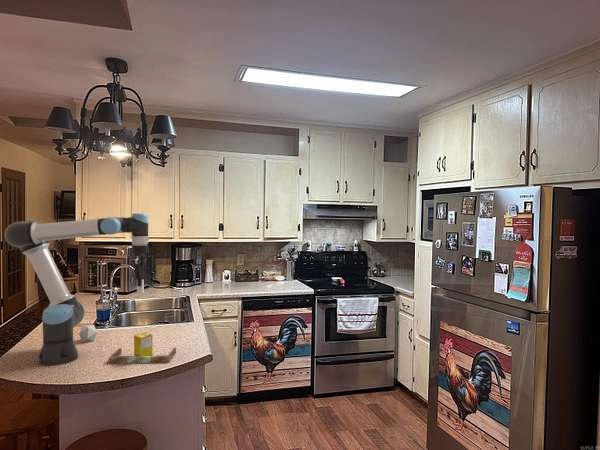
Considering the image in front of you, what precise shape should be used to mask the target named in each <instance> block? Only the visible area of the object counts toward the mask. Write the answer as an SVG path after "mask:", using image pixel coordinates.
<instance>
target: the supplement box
mask: <svg viewBox="0 0 600 450" xmlns="http://www.w3.org/2000/svg"><path fill="white" fill-rule="evenodd" d="M153 349H154V348H153V333H149V332H141V333H138V334H133V356H134V357H140V356H153V355H154V354H153V351H154V350H153Z"/></svg>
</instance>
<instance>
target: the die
mask: <svg viewBox="0 0 600 450" xmlns="http://www.w3.org/2000/svg"><path fill="white" fill-rule="evenodd" d="M97 334H98V331H97V329H96V327H95V325H94V324H90V325H89V324H88V325H82V326H81V328H80V331H79V333H78V335H79V338H80V340H81V342H82V343H88V342H94V341H95V339H96V336H97Z"/></svg>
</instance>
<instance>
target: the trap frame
mask: <svg viewBox="0 0 600 450" xmlns="http://www.w3.org/2000/svg"><path fill="white" fill-rule="evenodd" d="M176 354H177V347H173V349H172V350H171V351H170V352H169V354H168V355H155V356H140V357H134V355H122V348H120V347H119V348H118V349H117V350H115V352H113V353H112V354H110V356H109V357H107V358H108V363H107V364H146V363H147V364H154V363H156V364H157V363H160V364H161V363H167V364H168V363H170V362H171V361H172V359H173V358H174V357H175V356H176Z"/></svg>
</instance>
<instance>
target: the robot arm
mask: <svg viewBox="0 0 600 450" xmlns="http://www.w3.org/2000/svg"><path fill="white" fill-rule="evenodd" d="M125 233H129V234H131V244H132V246H131V253H133V254H135V255H134V256H135V257H134V259H133V267H134V280H136V294H143V293H144V292H145V291H144V285H145V284H144V280H145V279H146V269H147V261H148V260H147V257H146V254H147V253H149V245H148V244H149V240H150V238H149V215H148V213H132V214H131V216H129V217H128V216H127V217H123V216H121V217H120V216H119V217H118V216H110V217H109V216H108V217H104V218H103V217H102V218H92V219H82V220H81V219H78V220H70V221H59V222H48V223H41V222H39V221H35V220H25V221H15V222H12V223H11V224H9V225H8V226H7V227H6V229H5V231H4V238H5V241H6V243H8V244H9V245H10V246H12V247H15V248H19V250H20V252H21V254H22V255H25V256H27V257H28V259H29V261H30V263H31V265H32V268H33V269H34V271H35V273H36V275H37V278H38V280H39V281H40V284H41V285H42V289H44V292H45V294H46V296H47V297H48V301H49V305H48V306H47V307H46V308H45V309H43V312H42V317H41V319H42V345H41V349H40V352H39V354H38V364H39V365H43V366H57V365H64V364H67V363H70V362H73V361H75V360H76V359H77V358H79V356H78V355H79V351H78V349H77V346H76V343H75V342H74V341H75V340H74V328H75V327H76V326H78V325H79V324H81V322H82V321H83V319H84V317H85V312H86V308H85V307H84V305H83V304H82V302H79V301H78V299H77V298H76V295H75V294H72V293H70V290H69V289H68V287H67V285H66V283H65V281H64V278H63V277H62V274H61V272H60V270H59V268H58V267H57V264H56V263H55V260H54V257H53V256H52V254H51V252H50V250H49V246H50V244H51V243H50V241H57V240H67V239H74V238H87V237H95V236H107V235H109V236H110V235H115V234H125Z"/></svg>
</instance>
